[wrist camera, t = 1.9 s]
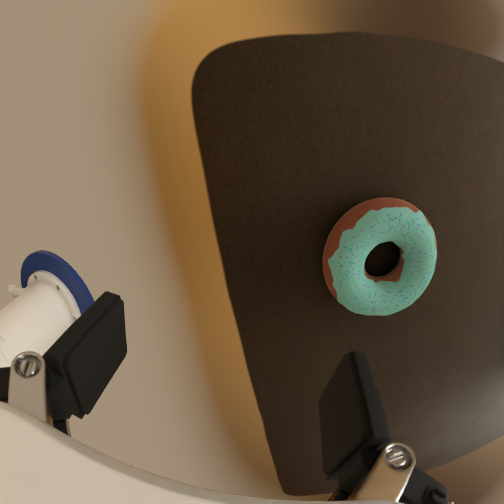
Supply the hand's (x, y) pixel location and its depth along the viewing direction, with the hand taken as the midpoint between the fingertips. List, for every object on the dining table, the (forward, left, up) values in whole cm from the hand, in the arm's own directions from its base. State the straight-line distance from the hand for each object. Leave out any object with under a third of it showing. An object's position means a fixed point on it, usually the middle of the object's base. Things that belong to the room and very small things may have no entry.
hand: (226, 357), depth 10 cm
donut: (+12, 0, -18) cm, 22 cm away
